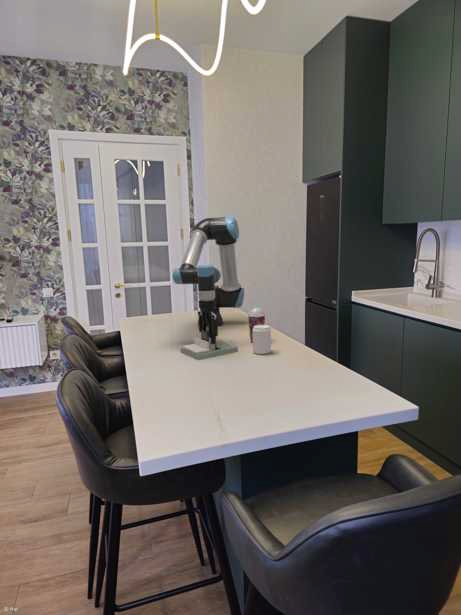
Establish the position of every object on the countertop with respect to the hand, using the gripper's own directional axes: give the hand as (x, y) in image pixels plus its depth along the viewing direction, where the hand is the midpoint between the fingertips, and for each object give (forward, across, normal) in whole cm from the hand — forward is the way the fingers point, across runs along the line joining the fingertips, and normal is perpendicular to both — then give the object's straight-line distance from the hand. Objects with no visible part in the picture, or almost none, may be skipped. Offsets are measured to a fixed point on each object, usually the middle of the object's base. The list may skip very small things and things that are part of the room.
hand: (208, 349), depth 184 cm
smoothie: (+1, +1, +28) cm, 28 cm away
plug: (0, 0, 0) cm, 0 cm away
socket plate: (+1, 0, 0) cm, 1 cm away
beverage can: (+1, +17, +18) cm, 24 cm away
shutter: (-1, 0, -7) cm, 7 cm away
